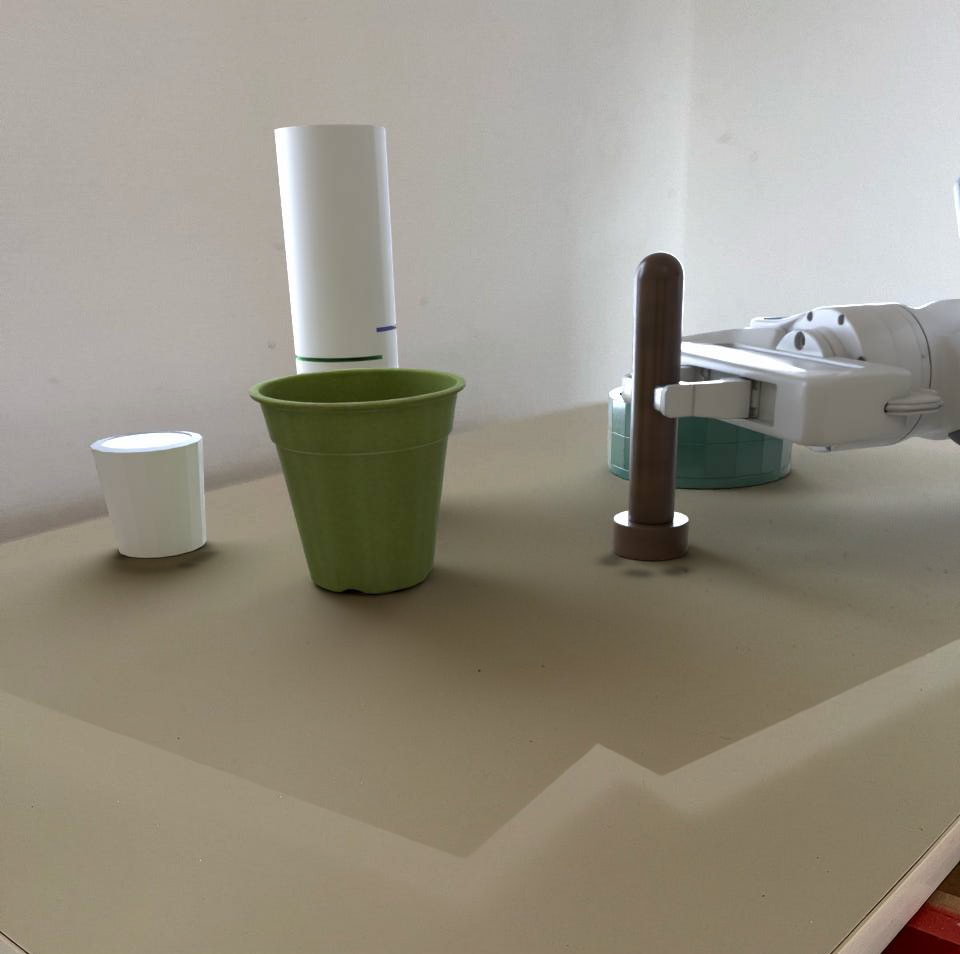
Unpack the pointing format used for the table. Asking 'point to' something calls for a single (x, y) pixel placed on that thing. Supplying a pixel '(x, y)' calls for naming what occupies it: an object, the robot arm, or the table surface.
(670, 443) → the pestle
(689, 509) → the table surface
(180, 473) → the white short cylinder
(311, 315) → the cylindrical container
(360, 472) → the plant pot
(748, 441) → the bowl
